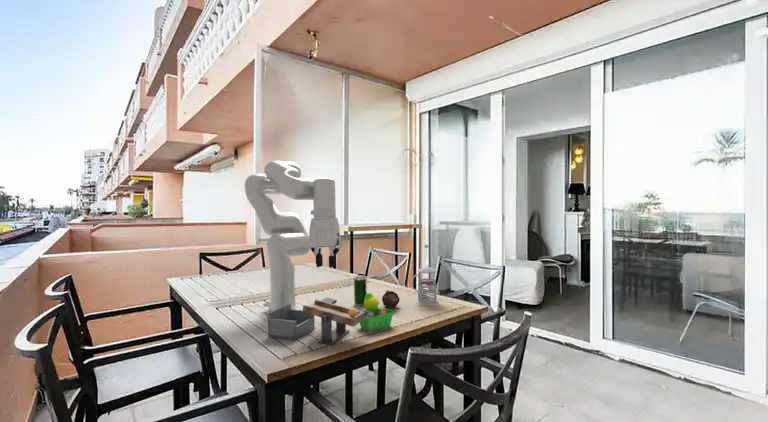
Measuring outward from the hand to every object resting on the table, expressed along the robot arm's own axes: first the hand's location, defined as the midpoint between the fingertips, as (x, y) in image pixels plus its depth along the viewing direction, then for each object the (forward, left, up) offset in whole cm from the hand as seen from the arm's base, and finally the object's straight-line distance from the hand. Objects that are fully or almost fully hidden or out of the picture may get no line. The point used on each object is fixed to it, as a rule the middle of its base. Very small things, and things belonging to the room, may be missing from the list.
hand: (325, 266), depth 128 cm
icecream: (+13, +31, -22) cm, 40 cm away
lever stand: (+7, -8, -21) cm, 24 cm away
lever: (+7, -4, -14) cm, 16 cm away
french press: (+25, +42, -22) cm, 54 cm away
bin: (-9, -8, -21) cm, 24 cm away
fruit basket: (+15, +6, -22) cm, 27 cm away
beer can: (-1, +32, -22) cm, 39 cm away
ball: (+13, -8, -13) cm, 20 cm away
